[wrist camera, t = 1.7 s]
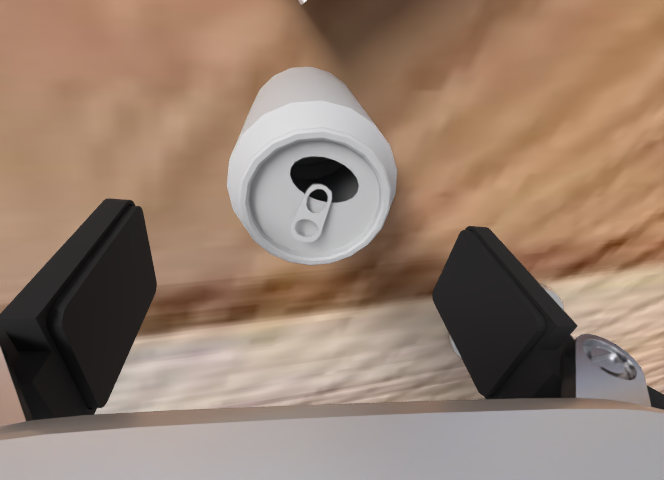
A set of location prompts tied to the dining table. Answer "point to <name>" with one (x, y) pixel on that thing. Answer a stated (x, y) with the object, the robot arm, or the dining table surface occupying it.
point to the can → (310, 170)
